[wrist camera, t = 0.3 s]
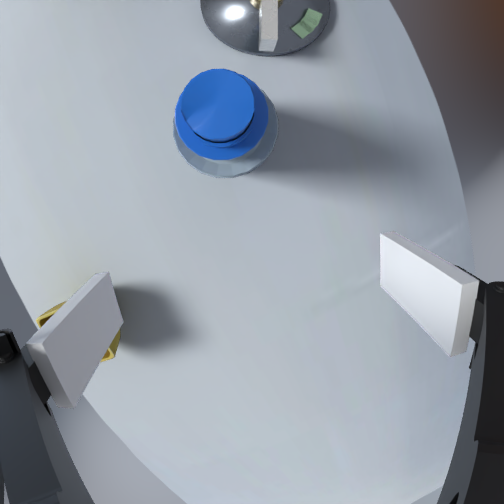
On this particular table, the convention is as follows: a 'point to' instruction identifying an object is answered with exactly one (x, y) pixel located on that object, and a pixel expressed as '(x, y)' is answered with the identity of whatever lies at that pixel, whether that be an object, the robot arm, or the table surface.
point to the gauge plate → (247, 24)
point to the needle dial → (267, 23)
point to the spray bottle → (224, 124)
